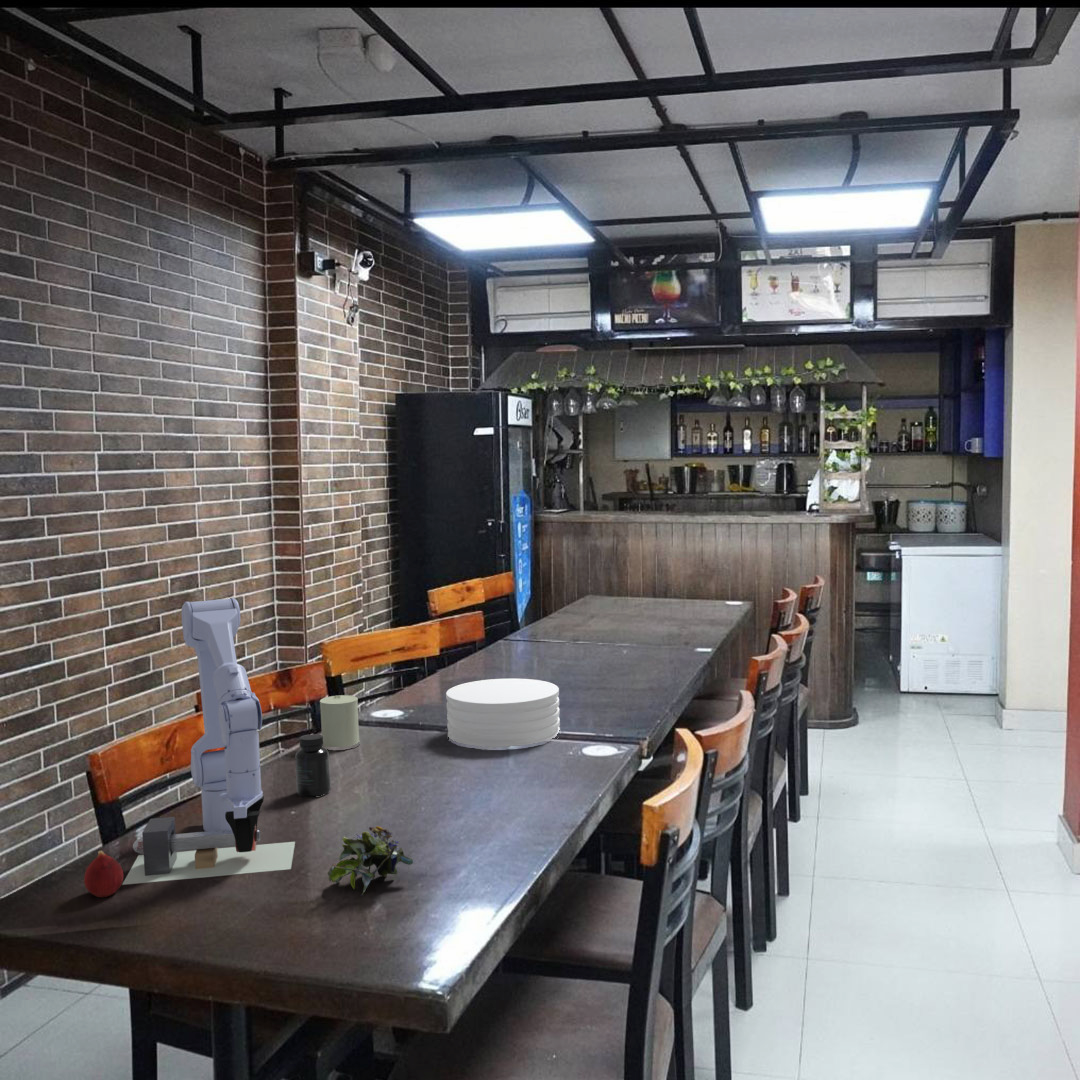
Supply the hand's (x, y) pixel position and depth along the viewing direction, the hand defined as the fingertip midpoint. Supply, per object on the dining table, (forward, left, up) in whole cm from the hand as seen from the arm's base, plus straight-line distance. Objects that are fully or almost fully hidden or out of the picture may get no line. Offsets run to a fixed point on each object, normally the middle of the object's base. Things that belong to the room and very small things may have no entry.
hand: (247, 845), depth 182 cm
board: (0, -6, -3) cm, 7 cm away
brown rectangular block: (0, -7, -2) cm, 7 cm away
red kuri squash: (+10, -21, -4) cm, 24 cm away
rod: (0, -8, -1) cm, 8 cm away
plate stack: (-72, +55, -4) cm, 91 cm away
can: (-73, +15, -4) cm, 75 cm away
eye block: (0, -14, -2) cm, 15 cm away
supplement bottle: (-37, +10, -4) cm, 39 cm away
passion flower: (+15, +21, -4) cm, 25 cm away
